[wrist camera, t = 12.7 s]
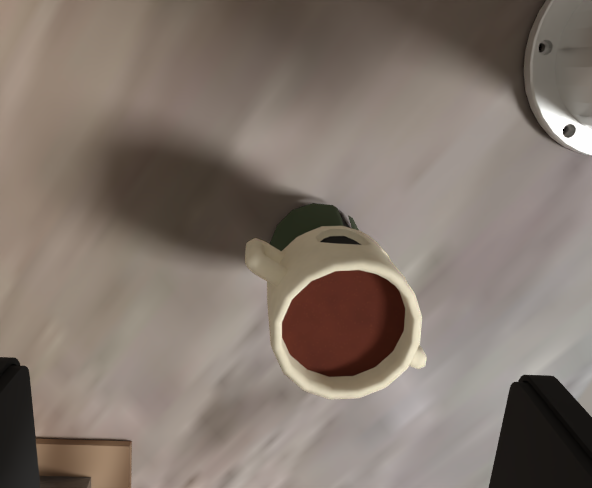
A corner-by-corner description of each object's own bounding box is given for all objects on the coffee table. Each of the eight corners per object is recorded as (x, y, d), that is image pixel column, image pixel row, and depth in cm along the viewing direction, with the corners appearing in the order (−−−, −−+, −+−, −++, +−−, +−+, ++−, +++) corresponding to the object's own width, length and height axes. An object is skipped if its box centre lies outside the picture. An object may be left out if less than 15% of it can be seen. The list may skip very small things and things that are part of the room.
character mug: (409, 245, 38) (486, 330, 26) (349, 325, 39) (395, 442, 27) (277, 158, 35) (292, 205, 23) (218, 247, 37) (203, 336, 25)
